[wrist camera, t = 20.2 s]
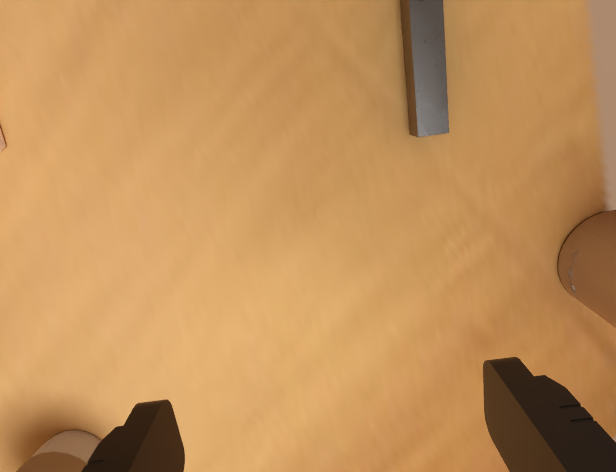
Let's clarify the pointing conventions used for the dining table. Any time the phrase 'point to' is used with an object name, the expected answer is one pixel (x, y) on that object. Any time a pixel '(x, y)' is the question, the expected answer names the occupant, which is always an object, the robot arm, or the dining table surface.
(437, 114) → the turner
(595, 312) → the robot arm
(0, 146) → the jar
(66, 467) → the coffee cup
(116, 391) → the dining table surface
